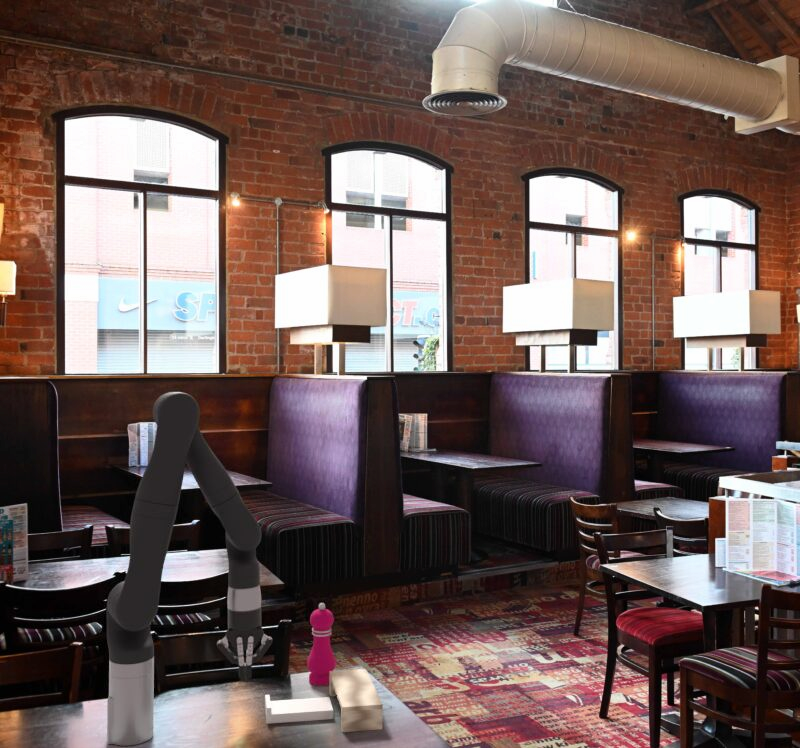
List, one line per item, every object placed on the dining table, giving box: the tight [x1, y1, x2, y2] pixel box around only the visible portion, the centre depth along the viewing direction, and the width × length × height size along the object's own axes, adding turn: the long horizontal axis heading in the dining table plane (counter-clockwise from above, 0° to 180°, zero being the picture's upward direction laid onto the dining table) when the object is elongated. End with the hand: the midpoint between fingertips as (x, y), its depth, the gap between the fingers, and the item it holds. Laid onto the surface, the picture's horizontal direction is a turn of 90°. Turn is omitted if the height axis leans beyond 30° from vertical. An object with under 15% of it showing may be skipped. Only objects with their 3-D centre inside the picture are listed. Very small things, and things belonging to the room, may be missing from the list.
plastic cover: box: [264, 694, 334, 725], centre depth 202 cm, size 15×8×4 cm, turn 102°
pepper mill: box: [306, 602, 337, 687], centre depth 223 cm, size 7×7×20 cm
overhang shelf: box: [328, 668, 384, 733], centre depth 204 cm, size 9×23×6 cm, turn 12°
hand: (245, 680), depth 199 cm, fingers closed
